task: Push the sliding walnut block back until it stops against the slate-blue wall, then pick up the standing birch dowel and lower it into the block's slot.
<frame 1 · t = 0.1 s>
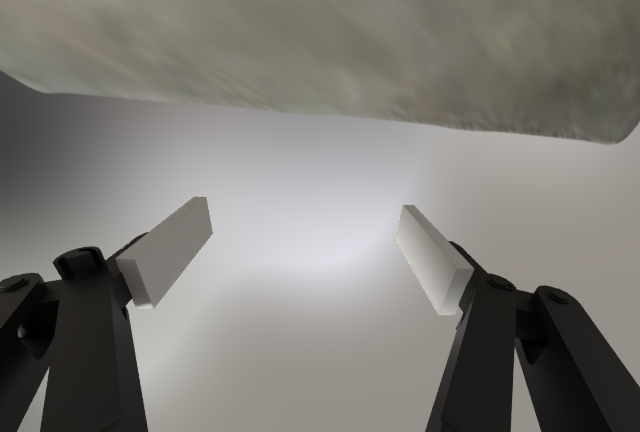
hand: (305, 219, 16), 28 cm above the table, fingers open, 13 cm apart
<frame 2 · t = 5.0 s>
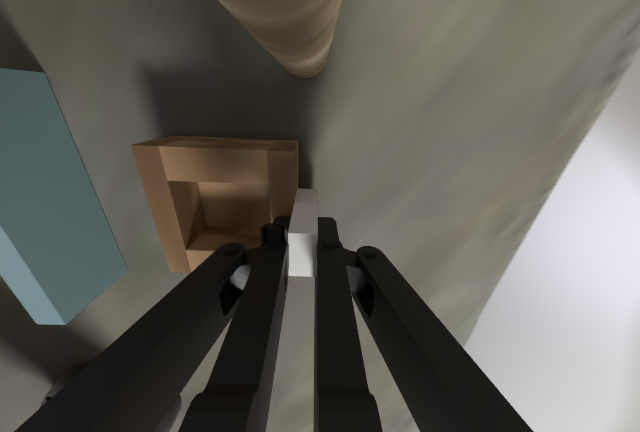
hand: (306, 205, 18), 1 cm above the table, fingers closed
dowel: (303, 49, 14), on the table
wall: (81, 190, 18), on the table
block: (234, 206, 17), point 2 cm above the table, slide at 0.8 cm, touching gripper
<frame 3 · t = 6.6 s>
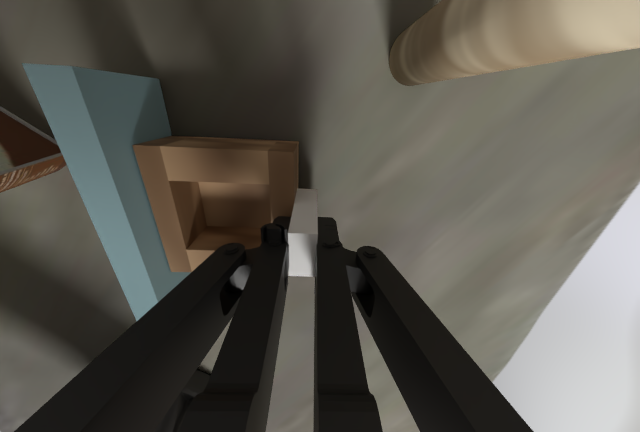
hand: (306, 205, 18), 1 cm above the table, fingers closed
dowel: (414, 57, 15), on the table
wall: (172, 193, 19), on the table
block: (234, 206, 17), point 2 cm above the table, slide at 7.9 cm, touching gripper
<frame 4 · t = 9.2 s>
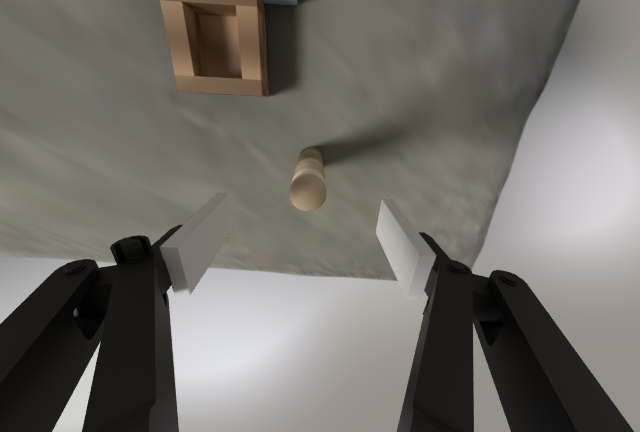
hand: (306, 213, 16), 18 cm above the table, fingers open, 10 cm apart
dowel: (310, 158, 32), on the table
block: (221, 46, 25), point 2 cm above the table, slide at 8.0 cm, touching wall
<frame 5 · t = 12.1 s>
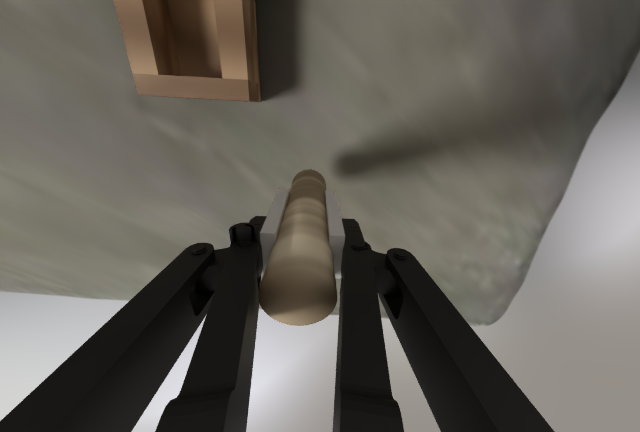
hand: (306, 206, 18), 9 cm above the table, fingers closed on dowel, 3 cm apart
dowel: (309, 186, 22), point 4 cm above the table, touching gripper
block: (195, 36, 19), point 2 cm above the table, slide at 8.0 cm, touching wall
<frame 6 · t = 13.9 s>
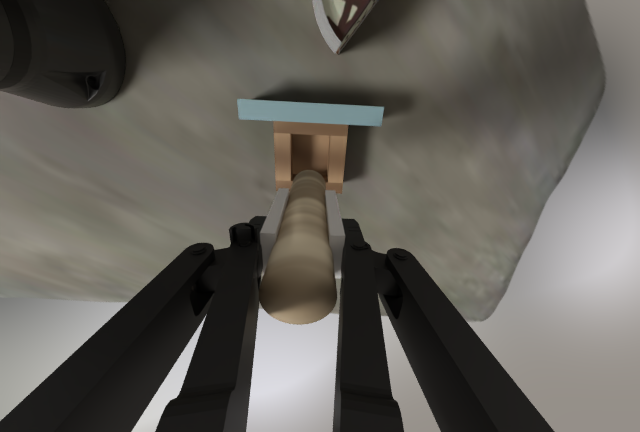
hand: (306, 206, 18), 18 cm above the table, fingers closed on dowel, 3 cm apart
dowel: (309, 186, 22), point 13 cm above the table, touching gripper
wall: (311, 111, 31), on the table
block: (310, 155, 31), point 2 cm above the table, slide at 8.0 cm, touching wall
when the fingers open (5 cm above the table, at t = 16.3 s): dowel stays where it is, resting on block.
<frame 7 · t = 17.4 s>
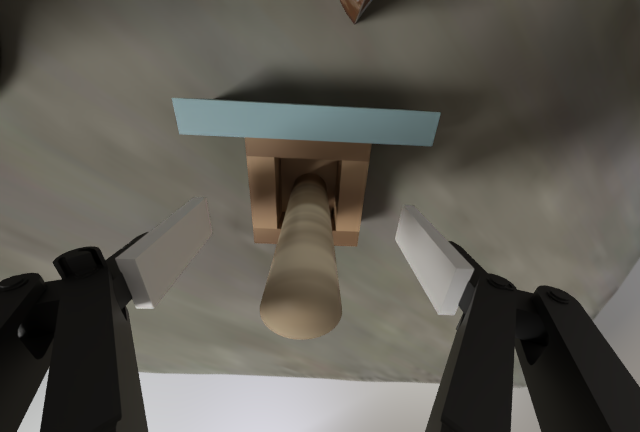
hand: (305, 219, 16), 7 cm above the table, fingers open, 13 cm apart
dowel: (309, 190, 22), point 1 cm above the table, touching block
wall: (310, 117, 19), on the table
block: (308, 188, 20), point 2 cm above the table, slide at 7.9 cm, touching dowel
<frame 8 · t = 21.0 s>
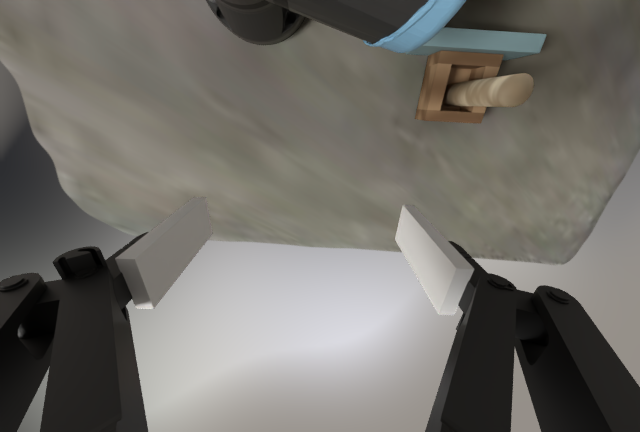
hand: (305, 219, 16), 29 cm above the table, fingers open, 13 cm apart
dowel: (449, 94, 37), point 1 cm above the table, touching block
wall: (458, 49, 35), on the table
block: (454, 89, 36), point 2 cm above the table, slide at 7.9 cm, touching dowel
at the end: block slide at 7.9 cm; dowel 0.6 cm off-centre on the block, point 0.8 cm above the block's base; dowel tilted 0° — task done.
